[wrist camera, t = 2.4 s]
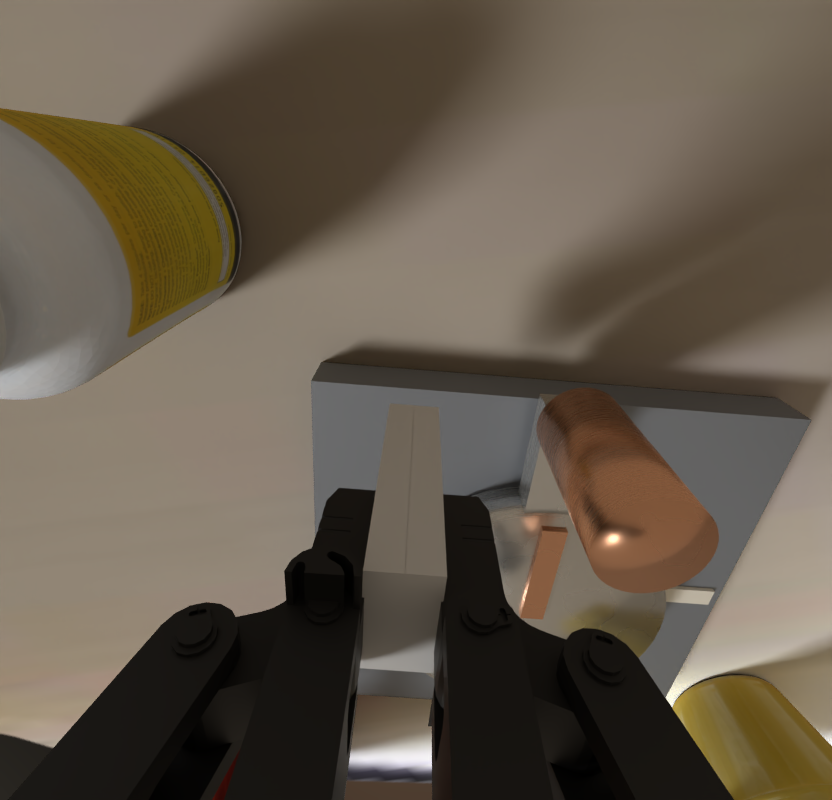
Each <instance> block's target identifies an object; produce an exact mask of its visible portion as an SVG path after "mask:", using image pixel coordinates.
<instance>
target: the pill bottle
mask: <svg viewBox="0 0 832 800" xmlns="http://www.w3.org/2000/svg"><path fill="white" fill-rule="evenodd" d="M241 244H242V239H241V229H240V224H239V220H238V216H237V212H236V210H235V207H234V204H233V202H232V200H231V198H230V196H229V194H228V192H227V190H226V189H225V187H224V185H223V184H222V182H221V181H220V179H219V178H218V177H217V175H216V174H215V173H214V172H213V170H212V169H211V168H210V167H209V166H208V165H207V164H206V163H205V162H204V161H203V160H202V159H201V158H200V157H199V156H197V155H196V154H195V153H194V152H192V151H191V150H190V149H188V148H187V147H185V146H184V145H182V144H180V143H179V142H177V141H175V140H173V139H171V138H169V137H167V136H164V135H162V134H159V133H156V132H153V131H149V130H145V129H141V128H135V127H128V126H121V125H114V124H107V123H101V122H94V121H87V120H80V119H73V118H65V117H58V116H51V115H44V114H38V113H31V112H23V111H16V110H9V109H1V108H0V399H16V400H18V399H35V398H42V397H48V396H52V395H56V394H60V393H63V392H66V391H69V390H71V389H74V388H76V387H78V386H80V385H82V384H84V383H86V382H88V381H90V380H91V379H93V378H94V377H96V376H98V375H99V374H101V373H102V372H104V371H106V370H107V369H109V368H110V367H112V366H113V365H115V364H116V363H118V362H119V361H121V360H123V359H124V358H126V357H127V356H129V355H130V354H132V353H133V352H135V351H137V350H138V349H140V348H141V347H143V346H144V345H146V344H148V343H149V342H151V341H152V340H154V339H155V338H157V337H159V336H160V335H162V334H163V333H165V332H167V331H168V330H170V329H171V328H173V327H174V326H176V325H178V324H179V323H181V322H182V321H184V320H186V319H187V318H189V317H191V316H192V315H194V314H196V313H197V312H199V311H201V310H202V309H204V308H206V307H207V306H209V305H210V304H212V303H213V302H214V301H216V300H217V299H218V298H219V297H220V296H221V295H222V294H223V293H224V292H225V291H226V289H227V288H228V287H229V285H230V284H231V282H232V280H233V279H234V277H235V274H236V272H237V269H238V266H239V262H240V257H241Z"/></svg>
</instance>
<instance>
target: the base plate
mask: <svg viewBox="0 0 832 800" xmlns="http://www.w3.org/2000/svg"><path fill="white" fill-rule="evenodd" d="M576 388H595V389H598V390H601V391H604V392H606V393H607V394H609V395H610V396H611V397H613V398H614V400H615V401H616V402H617V403H618V404H619V405H620V407H621V408H622V409H623V410H624V411H625V413H626V414H627V415H628V416H629V417H630V419H631V420H632V421H633V422H634V424H635V425H636V426H637V427H638V428H639V430H640V431H641V432H642V433H643V434H644V436H645V437H646V438H647V439H648V440H649V442H650V443H651V444H652V445H653V446H654V448H655V449H656V450H657V451H658V452H659V454H660V455H661V456H662V457H663V458H664V460H665V461H666V462H667V463H668V464H669V466H670V467H671V468H672V469H673V470H674V472H675V473H676V474H677V475H678V477H679V478H680V479H681V480H682V481H683V483H684V484H685V485H686V486H687V487H688V489H689V490H690V491H691V492H692V493H693V495H694V496H695V497H696V498H697V499H698V501H699V502H700V503H701V504H702V505H703V507H704V508H705V509H706V510H707V511H708V513H709V514H710V515H711V516H712V517H713V519H714V521H715V522H716V524H717V527H718V532H719V542H718V547H717V549H716V552H715V554H714V556H713V558H712V559H711V561H710V562H709V563H708V565H707V566H706V567H705V568H704V569H703V570H702V571H701V572H699V573H698V574H697V575H696V576H694V577H693V578H691V579H690V580H688V581H686V582H684V583H683V584H680V585H678V586H676V587H673V588H670V589H667V590H665V591H666V610H665V615H664V619H663V622H662V625H661V628H660V630H659V632H658V634H657V635H656V637H655V639H654V641H653V642H652V643H651V645H650V646H649V647H648V648H647V650H646V651H645V652H644V653H643V654H642V655H641V656H640V657H639V660H640V661H641V663H642V664H643V666H644V667H645V669H646V670H647V672H648V673H649V674H650V676H651V677H652V679H653V680H654V682H655V683H656V685H657V686H658V688H659V689H660V691H661V692H662V694H663V695H664V697H666V696H667V694H668V692H669V690H670V688H671V686H672V684H673V682H674V680H675V678H676V677H677V675H678V673H679V671H680V669H681V667H682V665H683V663H684V661H685V659H686V658H687V656H688V654H689V652H690V650H691V648H692V646H693V644H694V642H695V640H696V639H697V637H698V635H699V633H700V631H701V629H702V627H703V625H704V623H705V621H706V620H707V618H708V616H709V614H710V612H711V610H712V608H713V606H714V604H715V602H716V601H717V599H718V597H719V595H720V593H721V591H722V589H723V587H724V585H725V583H726V582H727V580H728V578H729V576H730V574H731V572H732V570H733V568H734V566H735V564H736V563H737V561H738V559H739V557H740V555H741V553H742V551H743V549H744V547H745V545H746V544H747V542H748V540H749V538H750V536H751V534H752V532H753V530H754V528H755V526H756V525H757V523H758V521H759V519H760V517H761V515H762V513H763V511H764V509H765V507H766V506H767V504H768V502H769V500H770V498H771V496H772V494H773V492H774V490H775V488H776V487H777V485H778V483H779V481H780V479H781V477H782V475H783V473H784V471H785V469H786V468H787V466H788V464H789V462H790V460H791V458H792V456H793V454H794V452H795V450H796V449H797V447H798V445H799V443H800V441H801V439H802V437H803V435H804V433H805V431H806V430H807V428H808V426H809V424H810V422H811V419H809V418H808V417H806V416H805V415H803V414H801V413H800V412H798V411H797V410H795V409H794V408H792V407H791V406H789V405H787V404H786V403H784V402H783V401H781V400H780V399H778V398H772V397H759V396H746V395H733V394H721V393H708V392H695V391H683V390H670V389H657V388H644V387H632V386H619V385H606V384H593V383H581V382H568V381H555V380H543V379H530V378H517V377H504V376H492V375H479V374H466V373H454V372H441V371H428V370H415V369H403V368H390V367H377V366H364V365H352V364H339V363H326V362H321V364H320V366H319V368H318V369H317V371H316V373H315V375H314V377H313V379H312V380H311V394H312V431H313V468H314V506H315V537H316V533H317V532H318V527H319V524H320V520H321V519H322V514H323V510H324V507H325V504H326V501H327V499H328V498H329V497H330V496H331V495H332V494H333V493H334V492H335V491H336V490H337V489H338V488H350V489H363V490H376V486H377V480H378V474H379V468H380V461H381V455H382V449H383V443H384V436H385V430H386V424H387V418H388V412H389V405H390V403H391V404H403V405H416V406H429V407H439V423H440V443H441V463H442V484H443V494H447V495H460V496H472V495H476V494H479V493H482V492H485V491H489V490H493V489H498V488H504V487H510V486H519V485H520V481H521V476H522V471H523V467H524V462H525V458H526V453H527V449H528V444H529V439H530V435H531V430H532V426H533V421H534V417H535V412H536V407H537V403H538V398H539V394H552V395H559V394H561V393H563V392H566V391H568V390H571V389H576ZM433 691H434V679H433V678H432V677H430V676H429V675H427V674H426V673H422V672H407V671H393V670H379V669H364V668H360V669H359V677H358V690H357V694H359V695H374V696H389V697H404V698H419V699H432V698H433Z"/></svg>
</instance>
